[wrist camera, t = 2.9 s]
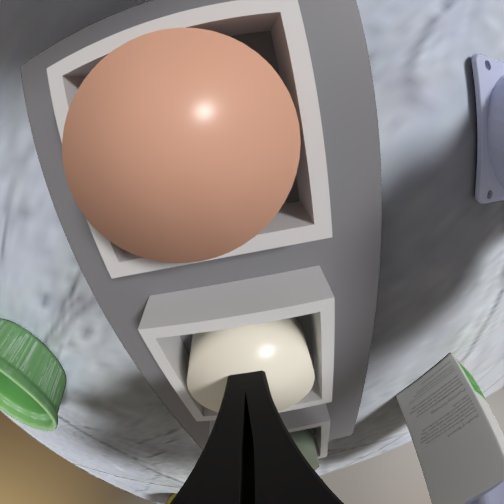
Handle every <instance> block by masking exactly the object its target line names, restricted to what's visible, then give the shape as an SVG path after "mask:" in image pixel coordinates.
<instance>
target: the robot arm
mask: <svg viewBox="0 0 504 504" xmlns="http://www.w3.org/2000/svg"><path fill="white" fill-rule="evenodd" d="M471 61H472V69H473V76H474V85H475V95H476V108H477V135H478V146H477V174H476V188H475V199H476V200H477V201H478V202H479V203H481V204H485V203H491V202H497V201H503V200H504V62H502V61H499V60H496V59H493V58H490V57H487V56H484V55H481V54H474V55H473V56H472V58H471ZM485 65H486V66H485ZM170 504H344V503H343V502H341V500H339V499H338V497H337V496H336V495H335V494H334V493H333V492H332V491H331V490H330V489H329V488H328V487H327V485H326V484H325V483H324V482H323V480H322V479H321V478H320V477H319V476H318V474H317V473H316V472H315V471H314V469H313V468H312V467H311V465H310V464H309V463H308V461H307V460H306V459H305V457H304V456H303V454H302V453H301V451H300V450H299V448H298V447H297V445H296V444H295V442H294V440H293V439H292V437H291V435H290V434H289V432H288V430H287V428H286V426H285V425H284V423H283V421H282V419H281V417H280V415H279V413H278V410H277V408H276V406H275V404H274V401H273V399H272V396H271V392H270V389H269V385H268V381H267V377H266V373H265V372H264V371H262V370H261V371H255V372H249V373H242V374H234V375H229V376H228V378H227V383H226V388H225V392H224V396H223V399H222V403H221V406H220V409H219V412H218V415H217V418H216V421H215V424H214V426H213V429H212V431H211V434H210V436H209V438H208V441H207V443H206V445H205V448H204V450H203V452H202V454H201V456H200V458H199V460H198V461H197V463H196V465H195V467H194V469H193V470H192V472H191V474H190V475H189V477H188V479H187V480H186V482H185V483H184V485H183V486H182V488H181V489H180V491H179V492H178V493H177V495H176V496H175V497H174V498H173V500H172V501H171V502H170ZM463 504H504V480H502V481H501V482H499V483H497V484H496V485H494V486H493V487H491V488H489V489H488V490H486V491H483V492H482V493H480V494H478V495H476V496H475V497H473V498H471V499H470V500H468V501H466V502H465V503H463Z"/></svg>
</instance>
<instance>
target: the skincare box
mask: <svg viewBox="0 0 504 504" xmlns="http://www.w3.org/2000/svg"><path fill="white" fill-rule="evenodd" d="M396 398H397V401H398V403H399V406H400V408H401V411H402V413H403V416H404V419H405V421H406V424H407V427H408V429H409V432H410V435H411V438H412V441H413V444H414V447H415V450H416V453H417V456H418V459H419V462H420V465H421V468H422V471H423V474H424V478H425V481H426V484H427V488H428V491H429V495H430V498H431V502H432V504H463V503H465V502H466V501H468V500H470V499H471V498H473V497H475V496H476V495H478V494H480V493H482V492H483V491H486V490H488V489H489V488H491V487H493V486H494V485H496V484H497V483H499V482H501V481H502V480H504V436H503V433H502V431H501V429H500V427H499V425H498V423H497V421H496V419H495V417H494V415H493V413H492V411H491V409H490V407H489V405H488V403H487V401H486V399H485V397H484V395H483V394H482V392H481V390H480V388H479V386H478V385H477V383H476V381H475V379H474V378H473V376H472V374H471V373H470V372H469V371H468V370H467V369H466V368H465V366H464V365H463V364H462V363H461V362H460V361H459V360H458V359H457V358H456V357H455V356H454V355H453V354H452V353H450V354H448V355H447V356H446V357H445V358H444V359H443V360H442V361H440V362H439V363H438V364H437V365H436V366H434V367H433V368H432V369H431V370H429V371H428V372H427V373H426V374H424V375H423V376H422V377H421V378H419V379H418V380H417V381H415V382H414V383H413V384H411V385H410V386H409V387H407V388H406V389H405V390H403V391H402V392H400V393H399V394H398V395H396Z"/></svg>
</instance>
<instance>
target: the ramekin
mask: <svg viewBox="0 0 504 504" xmlns="http://www.w3.org/2000/svg"><path fill="white" fill-rule="evenodd" d="M65 384H66V377H65V373H64V371H63V368H62V366H61V365H60V363H59V361H58V360H57V359H56V357H55V356H54V355H53V353H52V352H51V351H50V350H49V349H48V348H47V347H46V346H45V345H44V344H43V343H42V342H41V341H40V340H39V339H38V338H36V337H35V336H34V335H33V334H31V333H30V332H29V331H27V330H26V329H24V328H23V327H21V326H19V325H18V324H16V323H13V322H11V321H8V320H5V319H0V409H1V410H2V411H4V412H5V413H7V414H8V415H9V416H11V417H13V418H14V419H16V420H18V421H20V422H22V423H24V424H26V425H28V426H30V427H33V428H36V429H39V430H44V431H52V430H54V429H56V427H57V424H58V410H59V406H60V403H61V399H62V395H63V392H64V388H65Z"/></svg>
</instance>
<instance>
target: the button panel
mask: <svg viewBox="0 0 504 504" xmlns="http://www.w3.org/2000/svg"><path fill="white" fill-rule="evenodd" d="M171 28H199V29H205V30H210V31H215V32H218V33H221V34H224V35H227V36H230V37H232V38H234V39H236V40H238V41H240V42H242V43H244V44H245V45H247V46H248V47H250V48H251V49H253V50H254V51H256V52H257V53H258V54H259V55H260V56H262V57H263V58H264V59H265V60H266V61H267V62H268V63H269V64H270V65H271V66H272V67H273V69H274V70H275V71H276V72H277V74H278V75H279V76H280V78H281V79H282V81H283V83H284V84H285V86H286V88H287V90H288V91H289V93H290V96H291V98H292V101H293V103H294V106H295V109H296V113H297V117H298V121H299V127H300V139H301V144H300V159H299V164H298V169H297V174H296V177H295V180H294V182H293V185H292V188H291V190H290V192H289V194H288V196H287V198H286V200H285V202H284V204H283V205H282V207H281V208H280V210H279V211H278V213H277V214H276V216H275V217H274V218H273V219H272V220H271V221H270V223H269V224H268V225H267V226H266V227H265V228H264V229H263V230H262V231H261V232H260V233H258V234H257V235H256V236H255V237H254V238H252V239H251V240H249V241H248V242H247V243H245V244H244V245H242V246H240V247H238V248H237V249H235V250H233V251H231V252H229V253H226V254H224V255H221V256H218V257H216V258H212V259H208V260H204V261H199V262H191V263H167V262H158V261H154V260H150V259H145V258H143V257H140V256H137V255H134V254H132V253H130V252H128V251H126V250H124V249H122V248H120V247H118V246H116V245H115V244H113V243H112V242H110V241H109V240H108V239H106V238H105V237H104V236H103V235H102V234H100V233H99V232H98V231H97V230H96V229H95V228H94V227H93V226H92V225H91V224H90V222H89V221H88V220H87V219H86V217H85V216H84V215H83V213H82V212H81V210H80V209H79V207H78V205H77V204H76V202H75V200H74V198H73V196H72V193H71V191H70V188H69V186H68V183H67V179H66V176H65V172H64V166H63V158H62V139H63V131H64V125H65V121H66V117H67V113H68V110H69V107H70V105H71V102H72V100H73V98H74V96H75V94H76V92H77V90H78V88H79V87H80V85H81V83H82V82H83V81H84V79H85V78H86V77H87V75H88V74H89V73H90V71H91V70H92V69H93V68H94V67H95V66H96V65H97V64H98V63H99V62H100V61H101V60H102V59H103V58H104V57H105V56H107V55H108V54H109V53H111V52H112V51H113V50H114V49H116V48H118V47H119V46H121V45H123V44H124V43H126V42H128V41H130V40H132V39H134V38H137V37H139V36H141V35H144V34H147V33H151V32H154V31H158V30H163V29H171ZM20 67H21V76H22V83H23V90H24V96H25V102H26V107H27V112H28V117H29V122H30V126H31V131H32V135H33V139H34V143H35V147H36V151H37V154H38V158H39V161H40V165H41V168H42V171H43V175H44V178H45V181H46V184H47V187H48V190H49V193H50V196H51V199H52V201H53V204H54V207H55V210H56V212H57V215H58V218H59V220H60V223H61V225H62V228H63V230H64V233H65V235H66V237H67V240H68V242H69V244H70V247H71V249H72V251H73V253H74V256H75V258H76V260H77V262H78V264H79V266H80V268H81V270H82V272H83V275H84V277H85V279H86V281H87V283H88V285H89V287H90V288H91V290H92V292H93V294H94V296H95V298H96V300H97V302H98V304H99V305H100V307H101V309H102V311H103V313H104V314H105V316H106V318H107V320H108V321H109V323H110V325H111V326H112V328H113V330H114V331H115V333H116V335H117V336H118V338H119V340H120V341H121V343H122V344H123V346H124V348H125V349H126V351H127V352H128V354H129V355H130V357H131V358H132V360H133V361H134V363H135V364H136V366H137V367H138V369H139V370H140V372H141V373H142V375H143V376H144V377H145V379H146V380H147V382H148V383H149V384H150V386H151V387H152V388H153V390H154V391H155V393H156V394H157V395H158V397H159V398H160V399H161V400H162V402H163V403H164V404H165V406H166V407H167V408H168V409H169V411H170V412H171V413H172V415H173V416H174V417H175V418H176V419H177V421H178V422H179V423H180V424H181V425H182V427H183V428H184V429H185V430H186V431H187V433H188V434H189V435H190V436H191V437H192V438H193V439H194V441H195V442H196V443H197V444H198V445H199V446H200V447H201V448H202V449H203V450H204V448H205V445H206V443H207V441H208V438H209V436H210V434H211V431H212V429H213V426H214V424H215V421H216V418H217V415H218V412H215V411H213V410H210V409H208V408H206V407H204V406H203V405H201V404H200V403H198V402H197V401H196V400H195V399H194V398H193V397H192V395H191V394H190V392H189V390H188V387H187V376H188V367H189V359H190V351H191V343H192V336H193V334H195V333H203V332H210V331H217V330H223V329H230V328H236V327H242V326H248V325H254V324H260V323H266V322H271V321H277V320H282V319H287V318H292V317H296V318H297V319H298V321H299V322H300V324H301V326H302V329H303V332H304V336H305V339H306V343H307V347H308V350H309V354H310V358H311V362H312V365H313V369H314V374H315V380H314V384H313V386H312V388H311V390H310V391H309V393H308V394H307V395H306V396H305V397H304V398H303V399H302V400H300V401H299V402H298V403H296V404H294V405H293V406H291V407H289V408H287V409H284V410H282V411H279V412H278V413H279V415H280V417H281V419H282V421H283V423H284V425H285V426H286V428H287V430H288V432H294V431H300V430H305V429H309V430H311V431H312V433H313V438H314V443H315V448H316V453H317V458H318V459H319V458H324V457H327V451H328V442H329V441H330V440H334V439H338V438H342V437H346V436H350V435H352V434H353V430H354V427H355V423H356V419H357V415H358V410H359V406H360V402H361V397H362V393H363V388H364V383H365V378H366V373H367V367H368V361H369V356H370V349H371V343H372V336H373V329H374V321H375V313H376V304H377V295H378V284H379V271H380V255H381V229H382V183H381V158H380V142H379V129H378V119H377V109H376V101H375V93H374V86H373V79H372V73H371V67H370V61H369V55H368V50H367V45H366V40H365V35H364V31H363V26H362V22H361V18H360V14H359V10H358V6H357V2H356V0H152V1H148V2H146V3H143V4H140V5H137V6H134V7H131V8H129V9H126V10H124V11H121V12H119V13H116V14H114V15H111V16H109V17H107V18H104V19H102V20H100V21H98V22H96V23H94V24H91V25H89V26H87V27H85V28H83V29H81V30H79V31H77V32H76V33H74V34H72V35H70V36H68V37H66V38H64V39H63V40H61V41H59V42H57V43H56V44H54V45H52V46H51V47H49V48H47V49H46V50H44V51H43V52H41V53H39V54H38V55H36V56H35V57H33V58H32V59H30V60H29V61H27V62H26V63H24V64H23V65H22V66H20Z"/></svg>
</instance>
